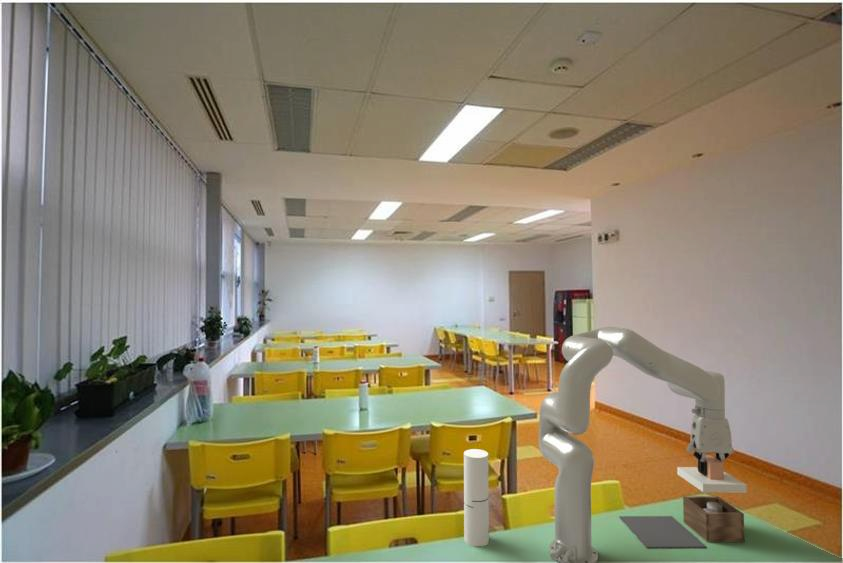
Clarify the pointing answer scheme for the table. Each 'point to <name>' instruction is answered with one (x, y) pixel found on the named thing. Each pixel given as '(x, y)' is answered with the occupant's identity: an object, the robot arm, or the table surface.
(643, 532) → the mat
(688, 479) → the lid
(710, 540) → the box
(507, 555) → the table surface
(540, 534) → the table surface
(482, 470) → the cylindrical container
